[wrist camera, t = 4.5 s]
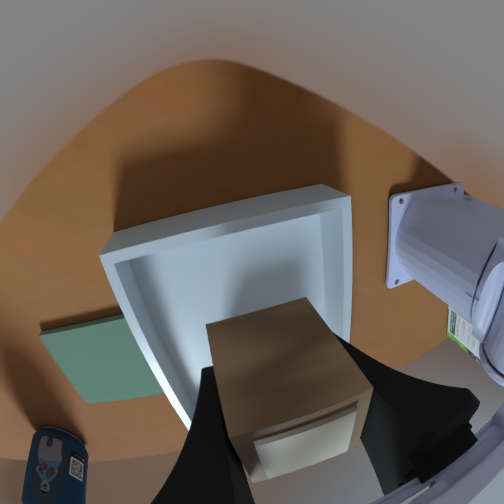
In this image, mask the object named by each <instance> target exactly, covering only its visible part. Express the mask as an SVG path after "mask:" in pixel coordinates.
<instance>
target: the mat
mask: <svg viewBox="0 0 504 504" xmlns="http://www.w3.org/2000/svg"><path fill="white" fill-rule="evenodd" d="M39 337H40V338H41V340H42V342H43V343H44V345H45V346H46V348H47V350H48V351H49V353H50V354H51V356H52V357H53V359H54V360H55V362H56V363H57V365H58V366H59V367H60V369H61V370H62V372H63V373H64V375H65V376H66V377H67V379H68V380H69V381H70V383H71V384H72V385H73V387H74V388H75V389H76V391H77V392H78V393H79V394H80V396H81V397H82V398H83V399H84V401H85V402H86V403H87V404H91V403H101V402H110V401H118V400H126V399H133V398H140V397H146V396H152V395H158V394H164V393H165V392H164V391H163V389H162V387H161V385H160V384H159V382H158V380H157V379H156V377H155V375H154V373H153V371H152V370H151V368H150V366H149V364H148V362H147V360H146V359H145V357H144V355H143V353H142V351H141V349H140V347H139V345H138V343H137V341H136V339H135V337H134V335H133V333H132V331H131V329H130V327H129V325H128V323H127V321H126V319H125V316H124V314H120V315H116V316H111V317H107V318H102V319H98V320H93V321H88V322H84V323H79V324H74V325H69V326H65V327H60V328H55V329H50V330H45V331H41V333H40V335H39Z"/></svg>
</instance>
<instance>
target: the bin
mask: <svg viewBox="0 0 504 504" xmlns="http://www.w3.org/2000/svg"><path fill="white" fill-rule="evenodd" d="M99 256H100V259H101V262H102V264H103V267H104V270H105V272H106V275H107V277H108V280H109V282H110V284H111V287H112V289H113V292H114V294H115V296H116V299H117V301H118V303H119V305H120V308H121V310H122V312H123V314H124V316H125V319H126V321H127V323H128V325H129V327H130V329H131V331H132V333H133V335H134V337H135V339H136V341H137V343H138V345H139V347H140V349H141V351H142V353H143V355H144V357H145V359H146V360H147V362H148V364H149V366H150V368H151V370H152V371H153V373H154V375H155V377H156V379H157V380H158V382H159V384H160V385H161V387H162V389H163V391H164V392H165V394H166V396H167V397H168V399H169V401H170V402H171V404H172V405H173V407H174V409H175V410H176V412H177V413H178V415H179V416H180V418H181V419H182V421H183V423H184V424H185V426H186V427H187V428H188V430H189V429H190V426H191V423H192V419H193V416H194V412H195V408H196V403H197V398H198V393H199V387H200V379H201V370H202V368H205V367H209V366H213V363H212V357H211V352H210V347H209V342H208V336H207V330H206V325H205V324H208V323H212V322H216V321H220V320H224V319H228V318H232V317H236V316H240V315H243V314H247V313H251V312H255V311H258V310H262V309H265V308H269V307H273V306H276V305H280V304H283V303H286V302H290V301H293V300H297V299H300V298H303V297H307V299H308V300H309V301H310V303H311V304H312V305H313V307H314V308H315V309H316V311H317V312H318V313H319V315H320V316H321V317H322V319H323V320H324V321H325V323H326V324H327V325H328V327H329V328H330V329H331V331H332V332H334V333H335V334H337V335H338V336H339V337H341V338H342V339H344V340H345V341H346V342H348V343H349V340H350V324H351V303H352V216H351V196H350V195H348V194H345V193H343V192H340V191H338V190H336V189H333V188H331V187H328V186H326V185H323V184H318V185H313V186H308V187H302V188H297V189H292V190H287V191H282V192H277V193H272V194H267V195H262V196H257V197H253V198H248V199H244V200H239V201H235V202H230V203H226V204H221V205H217V206H213V207H208V208H204V209H200V210H196V211H192V212H188V213H184V214H180V215H176V216H172V217H168V218H164V219H160V220H157V221H153V222H149V223H145V224H142V225H138V226H134V227H131V228H127V229H124V230H120V231H116V232H113V234H112V235H111V237H110V238H109V240H108V242H107V243H106V245H105V247H104V248H103V250H102V252H101V253H100V255H99Z"/></svg>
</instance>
